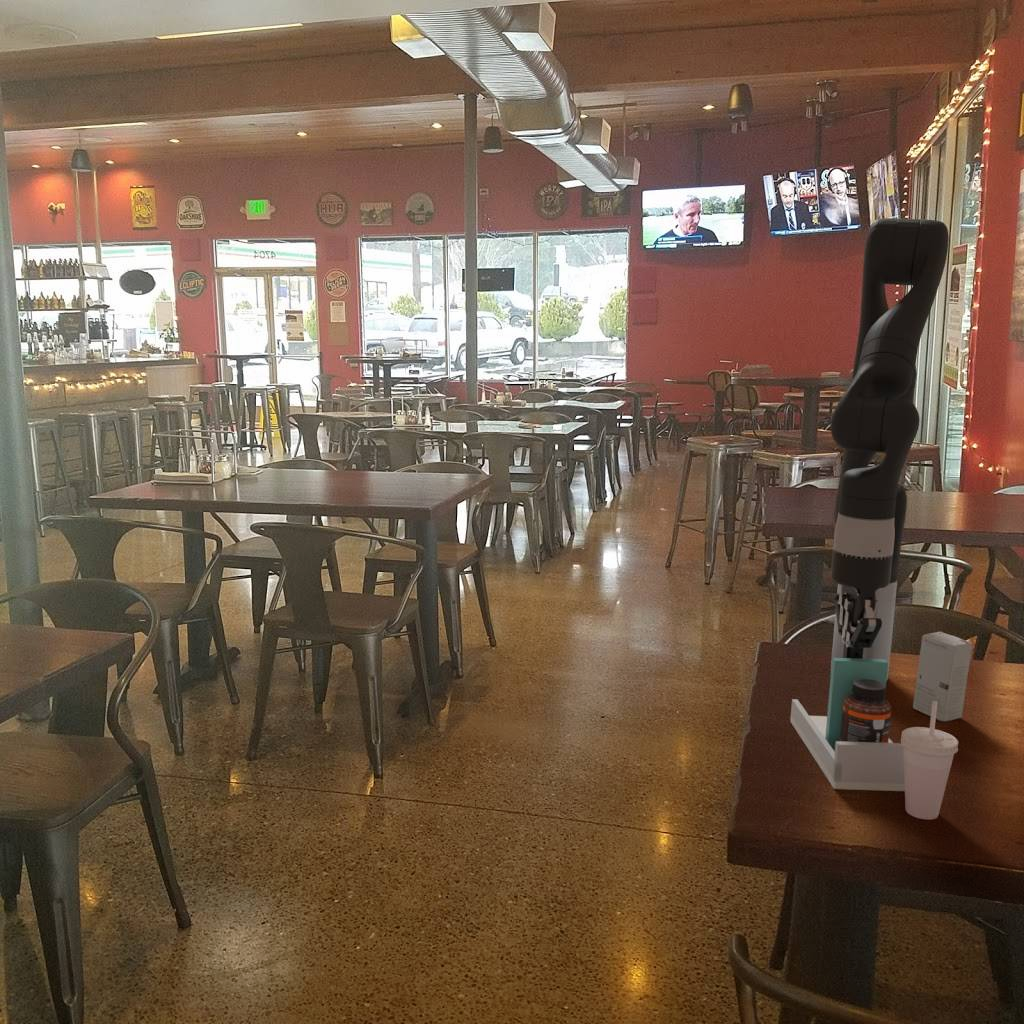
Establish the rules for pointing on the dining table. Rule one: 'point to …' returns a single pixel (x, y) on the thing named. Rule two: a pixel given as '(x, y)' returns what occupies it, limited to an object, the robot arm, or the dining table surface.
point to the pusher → (848, 688)
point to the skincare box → (942, 675)
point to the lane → (850, 756)
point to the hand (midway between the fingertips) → (851, 671)
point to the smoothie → (926, 767)
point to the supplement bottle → (866, 713)
